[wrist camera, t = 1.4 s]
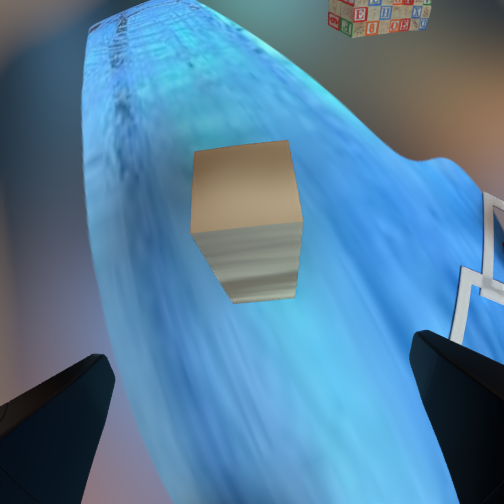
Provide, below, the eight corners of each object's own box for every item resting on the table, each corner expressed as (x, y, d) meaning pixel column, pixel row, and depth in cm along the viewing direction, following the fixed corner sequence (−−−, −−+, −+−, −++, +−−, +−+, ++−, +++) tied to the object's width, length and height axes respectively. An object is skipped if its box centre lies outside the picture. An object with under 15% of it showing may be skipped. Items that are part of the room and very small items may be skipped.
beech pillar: (295, 297, 22) (303, 221, 12) (233, 303, 22) (190, 233, 12) (288, 241, 24) (288, 140, 14) (230, 247, 24) (194, 151, 14)
